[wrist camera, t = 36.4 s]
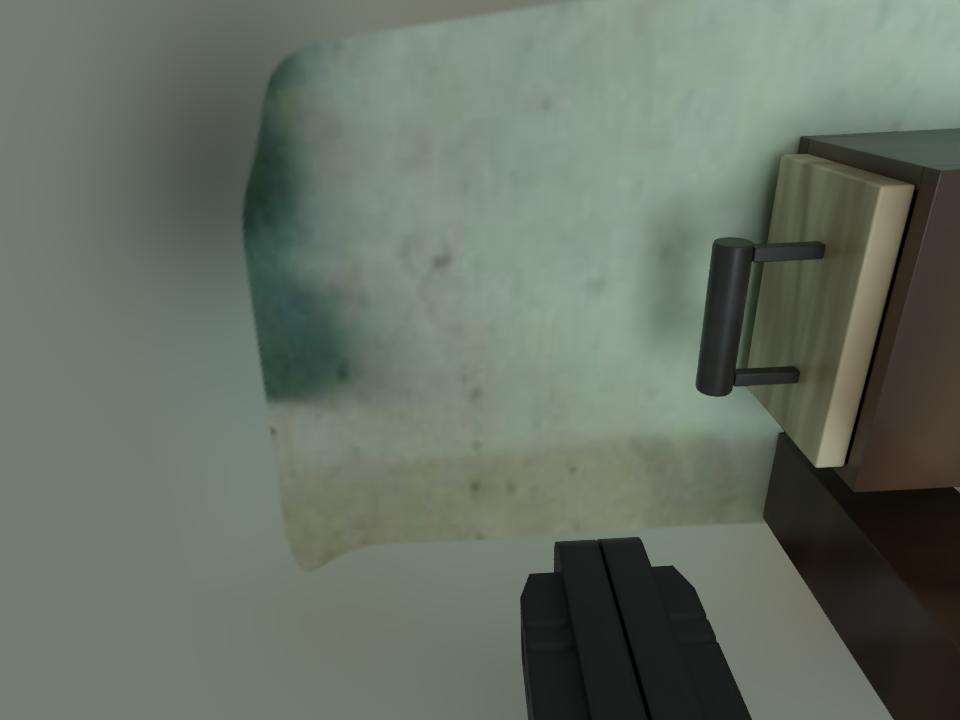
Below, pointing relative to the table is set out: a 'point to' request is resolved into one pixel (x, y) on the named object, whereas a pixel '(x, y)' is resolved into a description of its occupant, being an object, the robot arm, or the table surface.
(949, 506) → the post
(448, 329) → the table surface
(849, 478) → the cabinet
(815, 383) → the drawer
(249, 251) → the table surface
